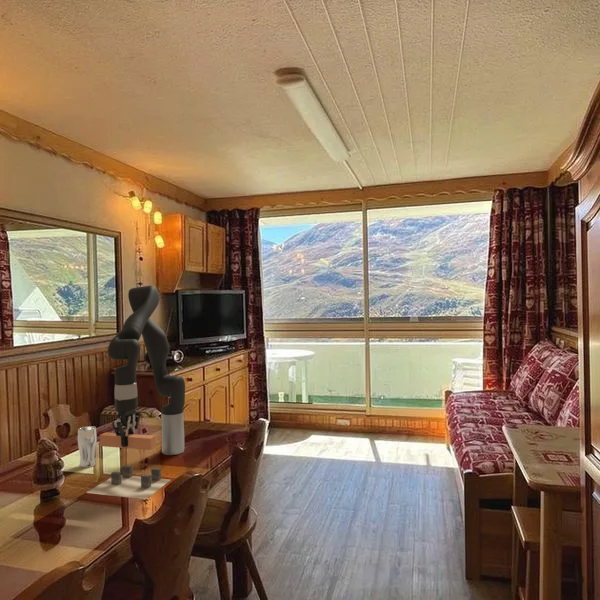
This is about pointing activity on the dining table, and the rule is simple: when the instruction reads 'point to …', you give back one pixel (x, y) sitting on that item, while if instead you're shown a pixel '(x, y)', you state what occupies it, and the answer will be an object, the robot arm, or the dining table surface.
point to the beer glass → (87, 446)
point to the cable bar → (133, 441)
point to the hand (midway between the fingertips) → (127, 444)
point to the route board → (131, 484)
